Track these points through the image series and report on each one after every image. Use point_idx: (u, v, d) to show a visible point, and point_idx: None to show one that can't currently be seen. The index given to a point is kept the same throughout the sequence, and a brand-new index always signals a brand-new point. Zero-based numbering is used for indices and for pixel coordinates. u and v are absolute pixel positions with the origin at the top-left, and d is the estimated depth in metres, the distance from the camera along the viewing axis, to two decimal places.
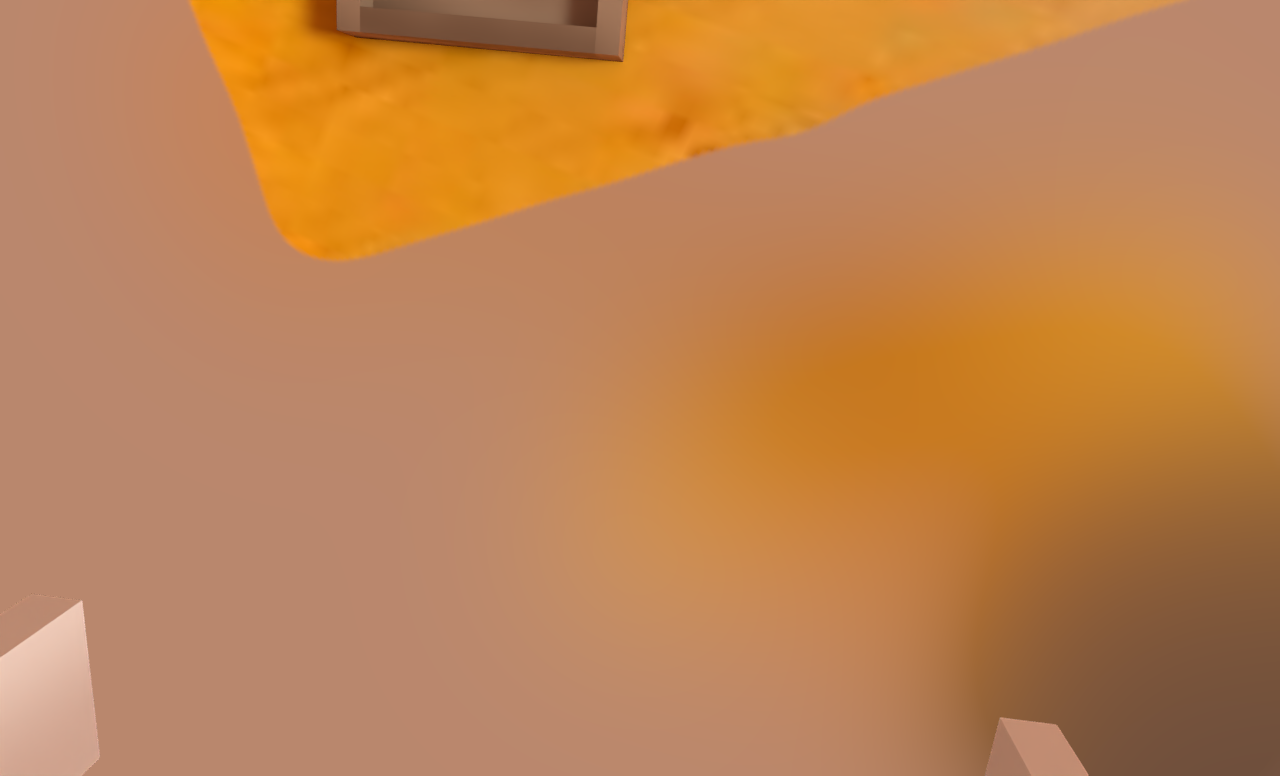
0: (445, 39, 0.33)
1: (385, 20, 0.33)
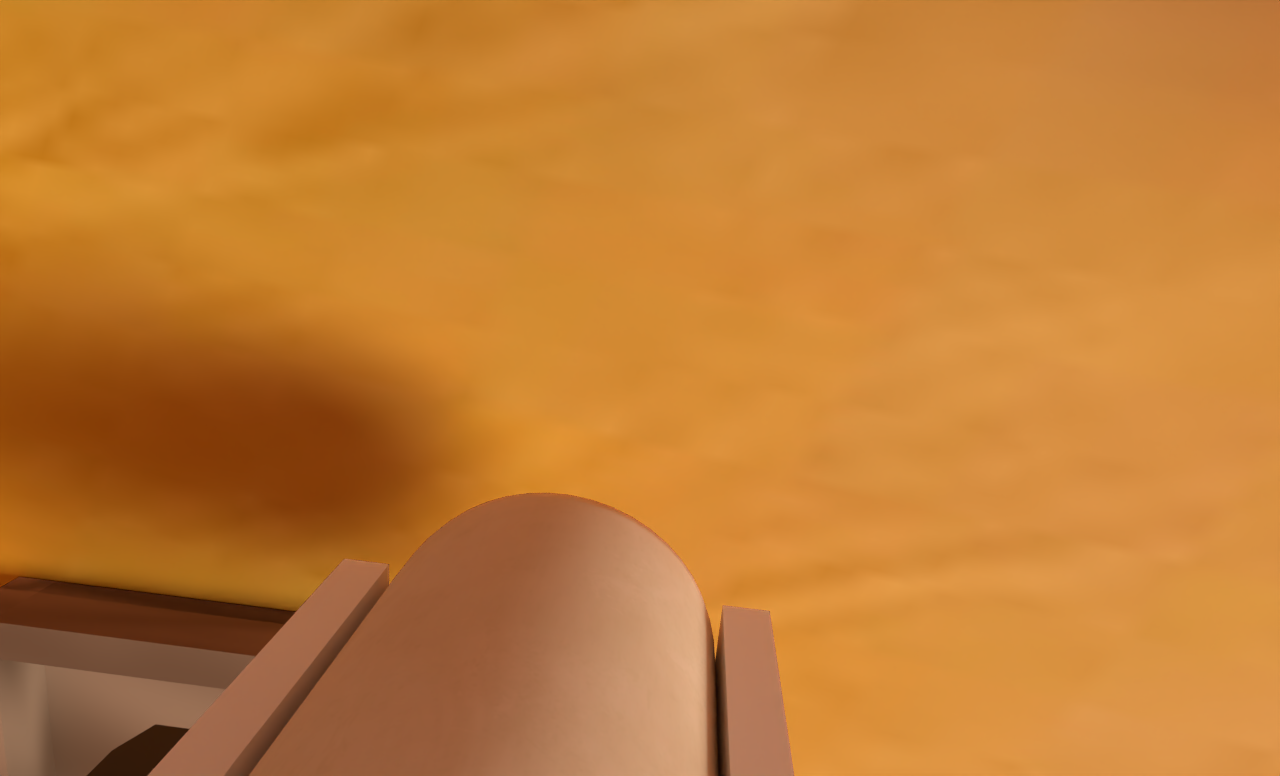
0: None
1: None
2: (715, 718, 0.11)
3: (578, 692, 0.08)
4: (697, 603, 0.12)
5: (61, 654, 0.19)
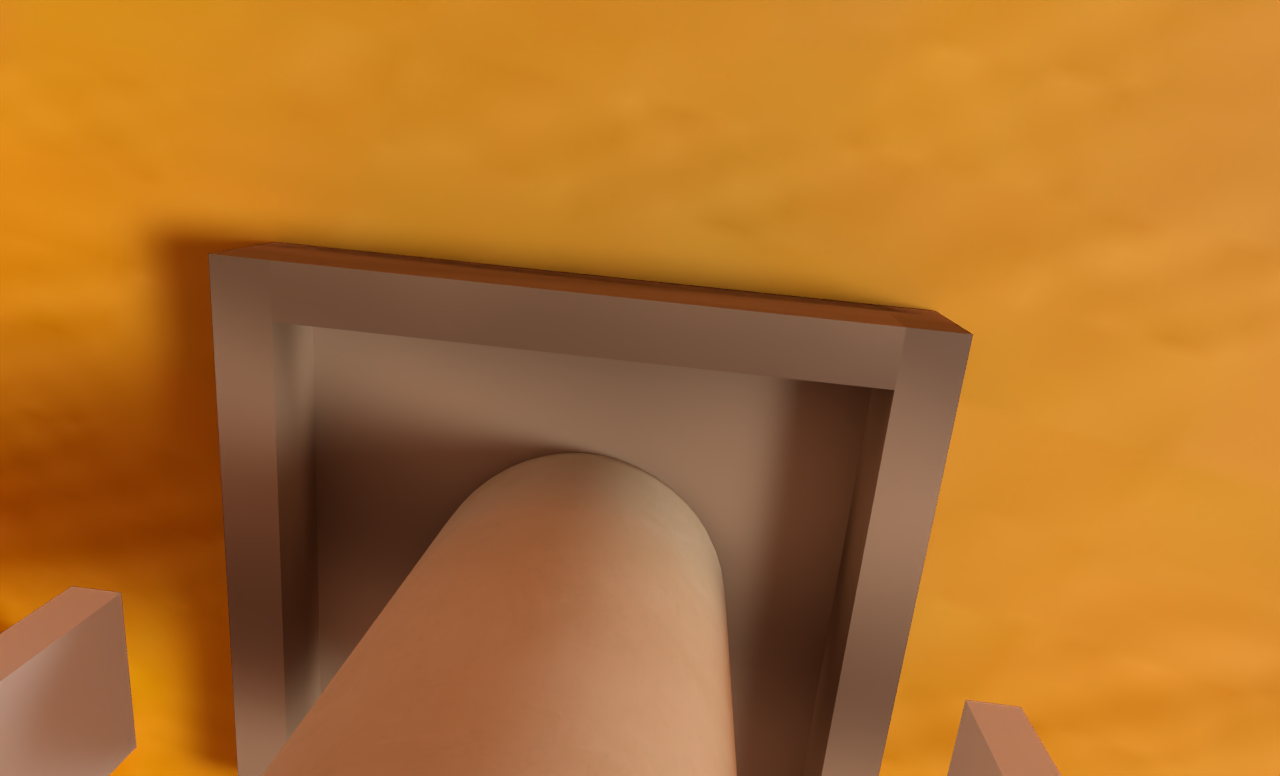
0: None
1: None
2: (727, 644, 0.13)
3: (622, 596, 0.10)
4: (711, 551, 0.14)
5: (376, 311, 0.13)
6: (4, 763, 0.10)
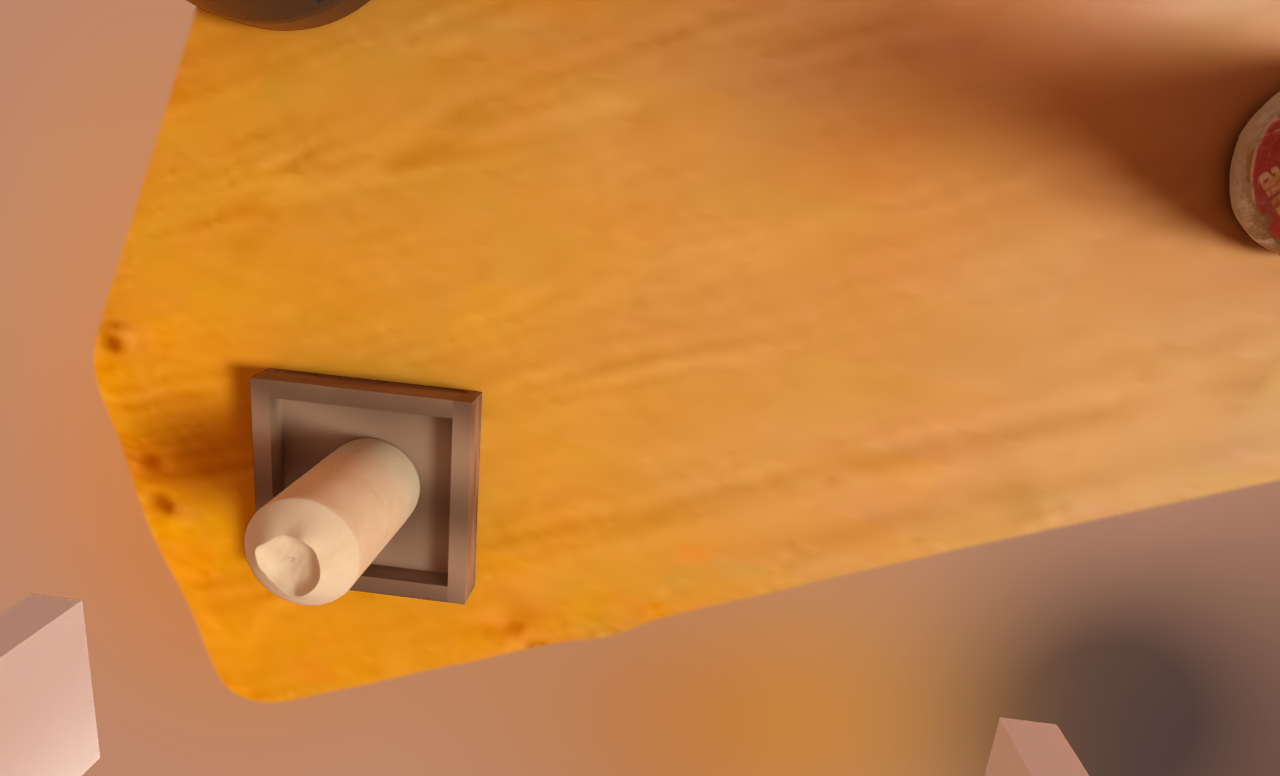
0: None
1: None
2: (405, 495, 0.42)
3: (358, 474, 0.40)
4: (410, 469, 0.44)
5: (300, 394, 0.42)
6: None
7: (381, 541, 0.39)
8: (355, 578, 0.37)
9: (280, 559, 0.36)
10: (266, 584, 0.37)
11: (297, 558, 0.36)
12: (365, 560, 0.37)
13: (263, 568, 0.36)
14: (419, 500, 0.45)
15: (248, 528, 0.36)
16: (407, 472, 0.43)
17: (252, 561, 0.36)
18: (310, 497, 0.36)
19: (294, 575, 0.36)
